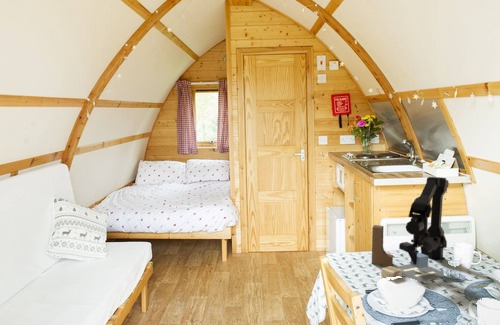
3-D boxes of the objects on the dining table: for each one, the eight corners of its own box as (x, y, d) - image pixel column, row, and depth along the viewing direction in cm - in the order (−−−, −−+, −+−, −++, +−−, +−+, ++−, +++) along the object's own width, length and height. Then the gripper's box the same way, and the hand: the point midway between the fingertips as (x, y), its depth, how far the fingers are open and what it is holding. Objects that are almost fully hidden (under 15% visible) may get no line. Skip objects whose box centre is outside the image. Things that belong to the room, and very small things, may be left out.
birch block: (390, 274, 193) (390, 265, 192) (401, 278, 188) (402, 269, 187) (381, 277, 190) (381, 268, 189) (392, 281, 185) (392, 272, 184)
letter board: (419, 262, 206) (419, 262, 206) (450, 275, 190) (450, 275, 190) (389, 268, 200) (389, 267, 199) (418, 282, 183) (418, 281, 183)
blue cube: (419, 263, 198) (419, 252, 197) (427, 266, 193) (428, 255, 193) (410, 265, 196) (411, 254, 195) (419, 268, 191) (419, 257, 191)
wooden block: (392, 264, 206) (393, 226, 204) (391, 267, 201) (392, 229, 199) (373, 261, 209) (373, 224, 207) (371, 264, 205) (372, 227, 203)
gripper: (417, 236, 182) (416, 272, 183) (451, 231, 189) (449, 266, 191) (398, 230, 192) (397, 264, 194) (431, 225, 199) (430, 258, 201)
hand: (419, 263), depth 194 cm, fingers closed on blue cube, 5 cm apart
